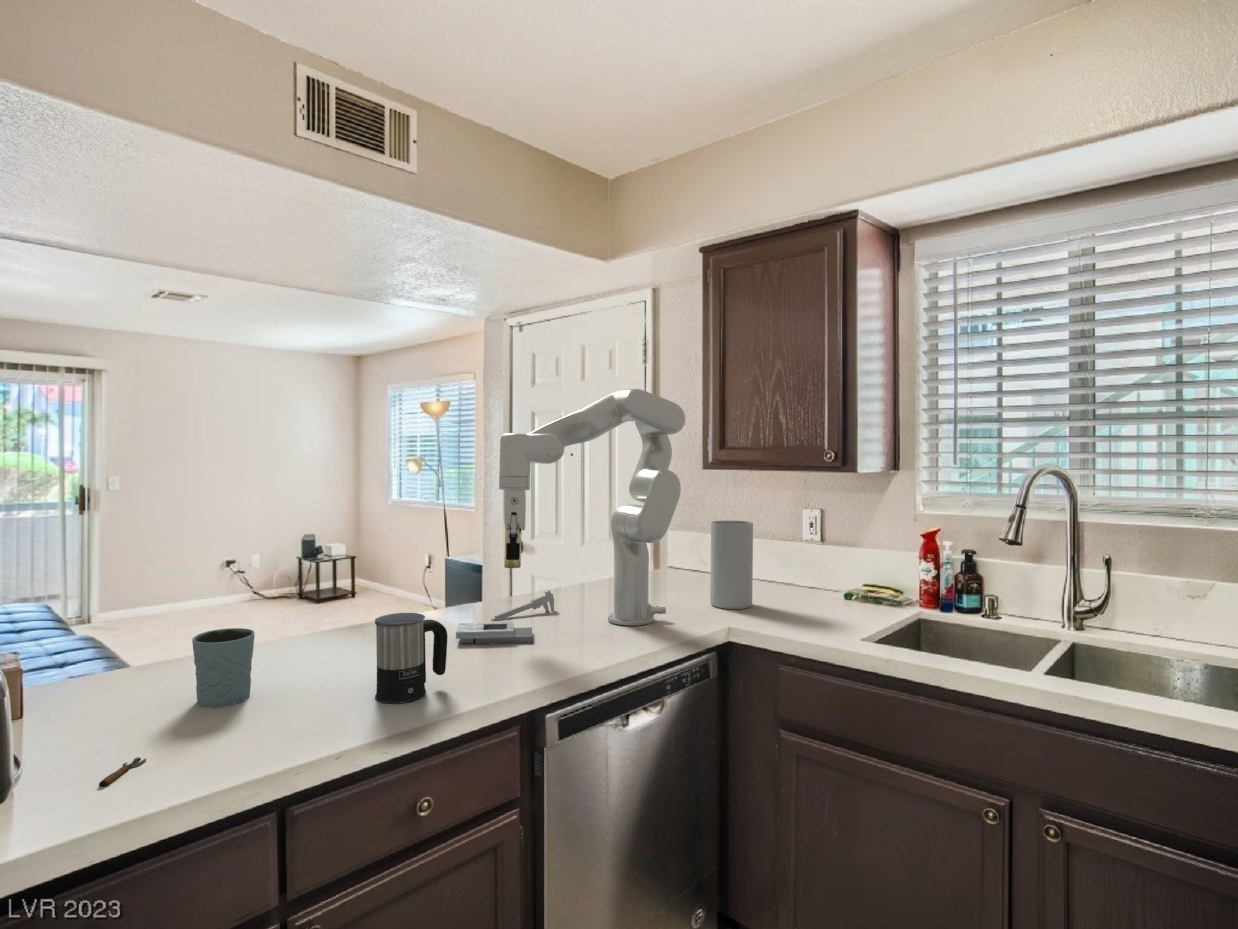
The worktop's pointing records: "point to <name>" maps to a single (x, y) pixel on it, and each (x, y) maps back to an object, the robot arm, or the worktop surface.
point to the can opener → (120, 772)
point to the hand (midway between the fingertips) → (512, 557)
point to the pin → (506, 562)
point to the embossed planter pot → (223, 666)
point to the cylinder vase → (731, 564)
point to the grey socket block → (493, 633)
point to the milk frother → (406, 655)
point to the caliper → (530, 606)
